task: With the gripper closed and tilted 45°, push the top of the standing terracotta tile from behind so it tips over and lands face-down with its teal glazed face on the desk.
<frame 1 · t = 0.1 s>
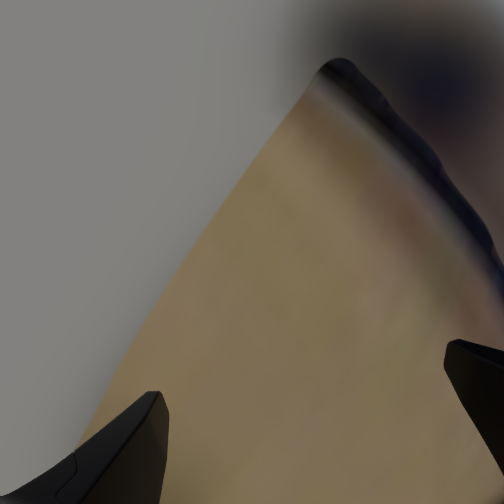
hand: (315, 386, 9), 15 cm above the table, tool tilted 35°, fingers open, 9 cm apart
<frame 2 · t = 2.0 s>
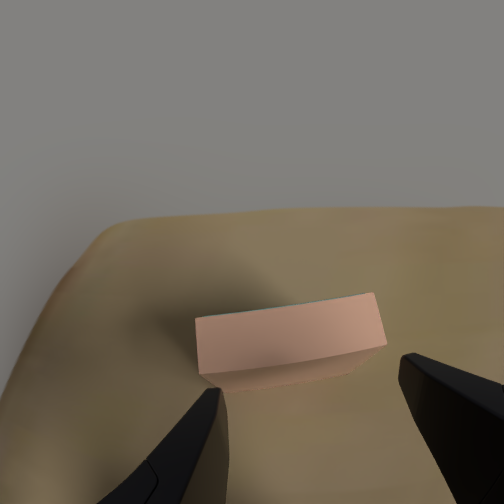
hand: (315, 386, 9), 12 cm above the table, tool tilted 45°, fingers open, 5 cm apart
tile: (284, 367, 20), on the table
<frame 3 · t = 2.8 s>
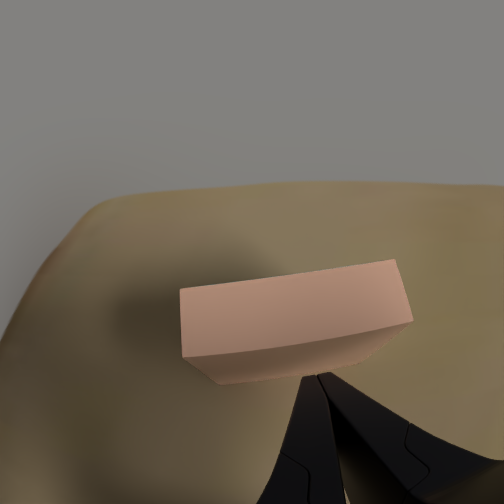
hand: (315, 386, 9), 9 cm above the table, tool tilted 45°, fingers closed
tile: (287, 355, 18), on the table
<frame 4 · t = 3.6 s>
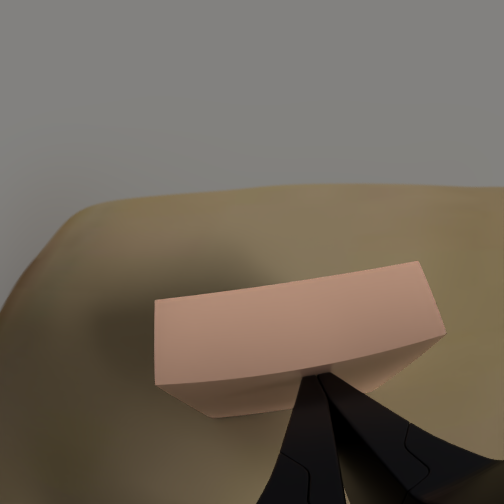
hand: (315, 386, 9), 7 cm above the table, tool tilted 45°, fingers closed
tile: (290, 384, 15), on the table, touching gripper
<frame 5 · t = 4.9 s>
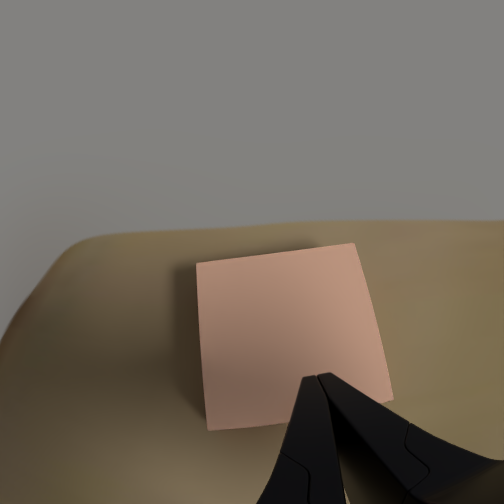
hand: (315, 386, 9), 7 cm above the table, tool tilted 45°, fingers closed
tile: (301, 420, 13), point 1 cm above the table, tilted 90°
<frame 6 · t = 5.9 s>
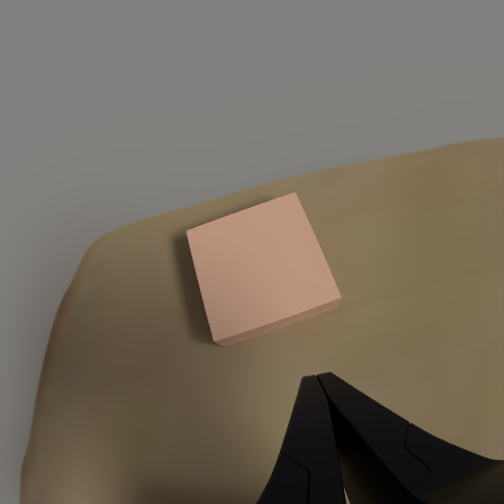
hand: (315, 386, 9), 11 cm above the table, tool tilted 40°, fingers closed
tile: (279, 324, 20), point 1 cm above the table, tilted 90°
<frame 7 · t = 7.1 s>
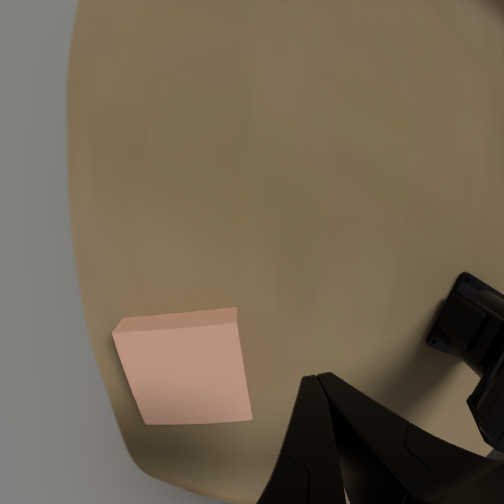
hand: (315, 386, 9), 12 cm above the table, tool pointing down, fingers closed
tile: (245, 366, 21), point 1 cm above the table, tilted 90°
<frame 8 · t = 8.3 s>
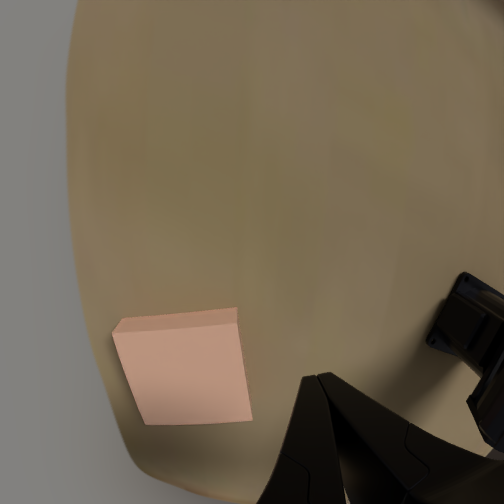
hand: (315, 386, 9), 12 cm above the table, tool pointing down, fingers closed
tile: (245, 366, 21), point 1 cm above the table, tilted 90°
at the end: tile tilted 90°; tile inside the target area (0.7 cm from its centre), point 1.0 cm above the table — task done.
